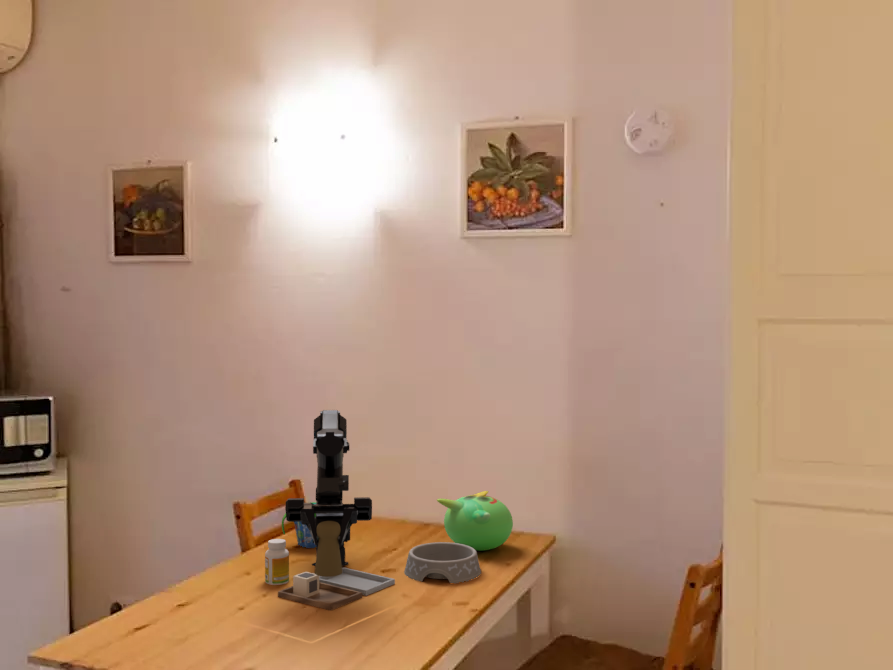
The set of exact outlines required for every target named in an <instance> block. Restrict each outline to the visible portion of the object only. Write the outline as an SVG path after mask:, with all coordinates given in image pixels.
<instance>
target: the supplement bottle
mask: <svg viewBox="0 0 893 670" xmlns="http://www.w3.org/2000/svg"><path fill="white" fill-rule="evenodd" d="M286 545H287V542H286V539H283V538H272V539H270V540H268V542H267V548H268V549H267V550H266V551H265V553H264V577H265V578H264V580H265V581H264V583H265V584H268V585H272V586H277V585H278V586H279V585H285V584H288V583H289V581H290V552H289V550H288V549H287V548H286V547H287V546H286Z"/></svg>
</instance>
